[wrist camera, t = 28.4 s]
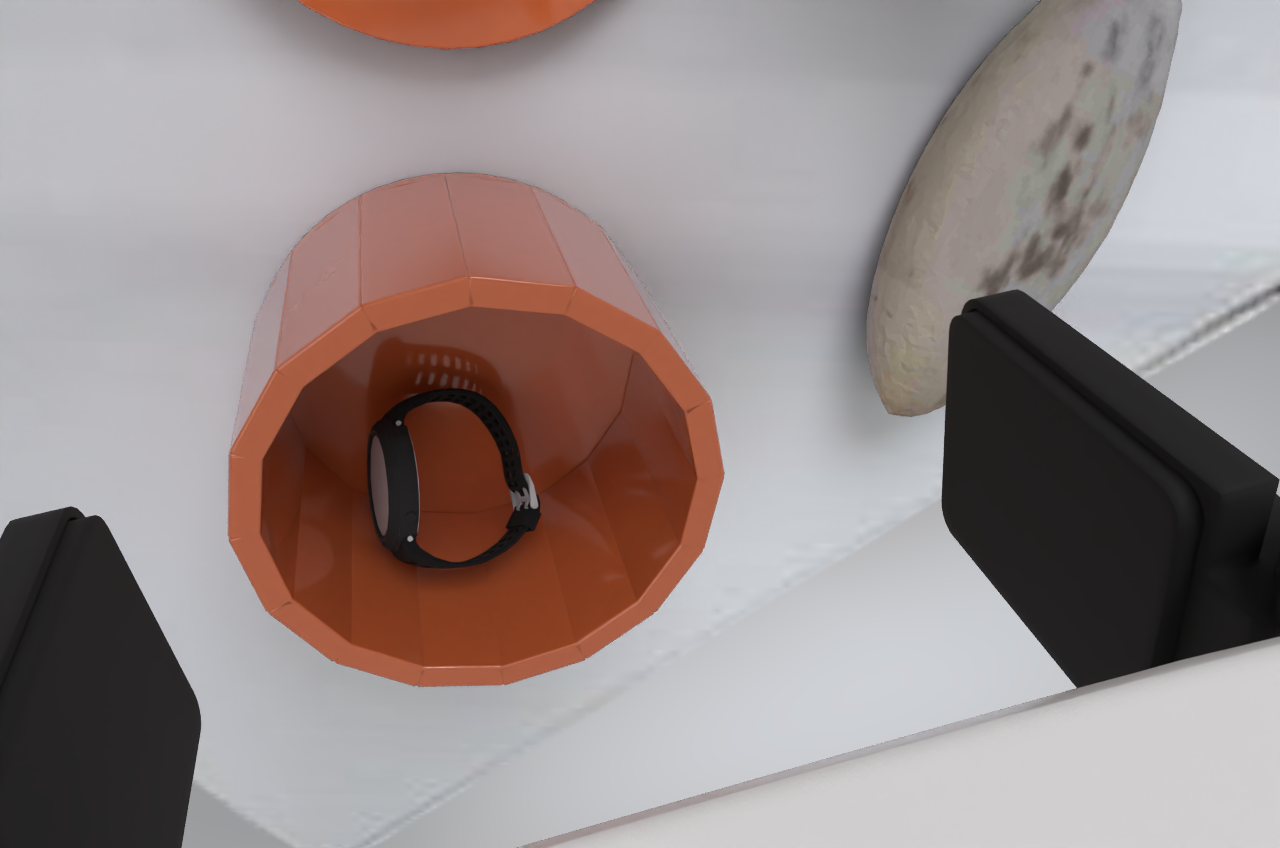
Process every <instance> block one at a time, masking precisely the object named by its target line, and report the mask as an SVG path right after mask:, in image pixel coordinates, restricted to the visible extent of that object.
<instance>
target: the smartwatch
mask: <svg viewBox="0 0 1280 848" xmlns="http://www.w3.org/2000/svg"><path fill="white" fill-rule="evenodd" d="M431 402H452V403H456V404H460V405H462V406H464V407H465V408H467V409H469V410H471V411H472V412H473V413H474V414H475V415H476V416H477V417H478V418H479V419H480V420H481V421H482V422H483V424H484V425H485V426H486V428H487V429H488V430H489V432H490V434H491V435H492V437H493V439H494V440H495V442H496V445H497V447H498V449H499V452H500V454H501V460H502V466H503V472H504V478H505V481H506V484H507V486H508V487H509V489H510V497H511V501H512V505H513V512H512V514H511V517H510V519H509V521H508V523H507V525H506V528H507V529H508V531H507V532H506V533H505V534H504V536H503V537H502V538H501V539H500V540H499V541H498V542H497V543H496V544H494V545H493V546H492V547H490V548H489V549H488V550H486V551H485V552H483V553H481V554H479V555H478V556H476V557H473V558H471V559H468V560H466V561H462V562H450V561H446V560H443V559H440V558H437V557H434V556H433V555H431V554H429V553H428V552H426V551H425V550H423V549H421V548H420V547H419V545H418V544H417V542H416V536H418V533H417V532H418V527H419V513H420V499H419V480H418V472H417V464H416V457H415V453H414V448H413V443H412V440H411V437H410V434H409V431H408V428H407V425H406V426H405V425H404V419H405V417H406V415H407V413H408V412H409V411H411V410H413V409H414V408H416V407H419V406H421V405H423V404H426V403H431ZM503 429H504V430H503ZM509 441H510V442H509ZM503 444H504V445H503ZM512 449H513V451H512ZM506 453H507V455H506ZM514 460H515V462H514ZM508 464H509V465H508ZM516 474H517V475H516ZM510 475H511V477H510ZM367 484H368V495H369V503H370V509H371V515H372V520H373V524H374V528H375V531H376V535H377V537H378V538H379V540H380V542H382V545H383V546H384V547H385V548H386V549H388V550H390V551H391V552H392V554H393V556H394V557H395V558H396V559H398V560H399V561H401V562H404V563H406V564H410V565H414V566H418V567H423V568H434V569H450V568H464V567H469V566H475V565H479V564H482V563H485V562H487V561H489V560H491V559H493V558H495V557H497V556H499V555H501V554H502V553H504V552H506V551H507V550H508V549H509V548H511V547H512V546H513V545H514V544H515V543H517V542H518V540H519V539H520V538H521V537H522V536H523V535H524V533H525V532H530V531H535V528H536V526H537V523H538V521H539V519H540V517H541V513H540V503H541V502H540V499H539V496H538V494H537V493H536V491H535V488H534V484H533V482H532V480H531V477H530V476H529V475H528V474H527V473H523V470H522V464H521V457H520V452H519V448H518V445H517V441H516V439H515V437H514V435H513V432H512V430H511V428H510V426H509V424H508V423H507V421H506V419H505V418H504V416H503V415H502V414H501V412H500V411H499V410H498V408H497V407H496V406H495V405H494V404H493V403H492V402H491V401H490V400H488V399H487V398H486V397H485V396H483V395H481V394H479V393H477V392H475V391H471V390H467V389H458V388H448V389H438V390H433V391H429V392H425V393H421V394H417V395H414V396H412V397H409V398H407V399H405V400H403V401H401V402H399V403H397V404H396V405H395V406H393V407H392V408H391V409H390V410H389V411H388V412H387V413H385V414H384V416H383V417H382V419H381V420H380V421H377V422H376V423H375V424H374V425H373V427H372V428H371V432H370V434H369V438H368V445H367ZM522 488H523V490H522Z"/></svg>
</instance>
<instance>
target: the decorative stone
mask: <svg viewBox="0 0 1280 848" xmlns="http://www.w3.org/2000/svg"><path fill="white" fill-rule="evenodd" d="M1181 11H1182V2H1181V0H1042V1H1041V2H1040V3H1038V4H1037V5H1036V6H1035V7H1034V8H1033V9H1032V10H1031V12H1030V13H1029V14H1028V15H1027V16H1026V17H1025V18H1024V19H1023V20H1022V21H1021V22H1020V23H1019V24H1017V25H1016V26H1015V27H1014V28H1013V29H1012V30H1011V31H1010V32H1009V33H1008V34H1007V35H1006V36H1005V37H1004V38H1003V40H1002V41H1001V42H1000V43H999V44H998V45H997V46H996V48H995V49H994V50H993V51H992V52H991V53H990V54H989V55H988V56H987V58H986V59H985V60H984V62H983V63H982V64H981V65H980V67H979V68H978V69H977V70H976V71H975V72H974V74H973V75H972V76H971V77H970V79H969V80H968V82H967V83H966V85H965V86H964V87H963V89H962V90H961V92H960V93H959V94H958V96H957V97H956V99H955V100H954V102H953V103H952V104H951V106H950V107H949V109H948V110H947V112H946V113H945V115H944V116H943V118H942V120H941V122H940V123H939V125H938V127H937V129H936V130H935V132H934V134H933V135H932V137H931V139H930V141H929V142H928V144H927V146H926V148H925V150H924V151H923V153H922V155H921V157H920V159H919V161H918V163H917V165H916V167H915V169H914V171H913V172H912V174H911V176H910V179H909V181H908V183H907V185H906V187H905V189H904V191H903V194H902V196H901V199H900V201H899V204H898V207H897V209H896V212H895V215H894V217H893V220H892V222H891V225H890V227H889V230H888V233H887V235H886V239H885V242H884V245H883V248H882V250H881V254H880V257H879V261H878V265H877V268H876V272H875V275H874V279H873V283H872V289H871V295H870V303H869V308H868V313H867V323H866V345H867V354H868V360H869V364H870V369H871V374H872V376H873V380H874V384H875V388H876V390H877V392H878V394H879V396H880V397H881V400H882V402H883V405H884V406H885V408H886V410H887V412H888V413H889V414H892V415H899V416H909V417H912V416H917V415H922V414H927V413H929V412H931V411H933V410H936V409H938V408H941V407H943V406H944V405H946V388H947V364H948V341H949V327H950V323H951V320H952V318H954V317H955V316H957V315H961V312H962V309H963V307H964V304H965V303H966V302H967V301H968V300H971V299H975V298H979V297H984V296H988V295H992V294H997V293H1001V292H1005V291H1010V290H1016V289H1018V290H1021V291H1023V292H1025V293H1026V294H1027V295H1029V296H1030V297H1032V298H1033V299H1034V300H1036V301H1037V302H1038V303H1040V304H1041V305H1042V306H1044V307H1045V308H1047V309H1048V310H1049V311H1052V310H1053V309H1054V307H1055V306H1056V305H1057V304H1058V303H1059V301H1060V300H1061V299H1062V298H1063V297H1064V296H1065V294H1066V293H1067V292H1068V291H1069V289H1070V288H1071V287H1072V285H1073V284H1074V283H1075V282H1076V280H1077V279H1078V278H1079V276H1080V275H1081V274H1082V272H1083V271H1084V269H1085V268H1086V267H1087V265H1088V264H1089V262H1090V261H1091V259H1092V257H1093V256H1094V254H1095V253H1096V251H1097V250H1098V248H1099V247H1100V245H1101V244H1102V242H1103V241H1104V239H1105V238H1106V236H1107V235H1108V233H1109V231H1110V229H1111V227H1112V225H1113V223H1114V221H1115V219H1116V216H1117V214H1118V213H1119V211H1120V209H1121V208H1122V206H1123V203H1124V201H1125V199H1126V197H1127V195H1128V193H1129V190H1130V188H1131V186H1132V183H1133V181H1134V178H1135V176H1136V174H1137V172H1138V170H1139V167H1140V165H1141V163H1142V160H1143V158H1144V155H1145V152H1146V150H1147V147H1148V145H1149V142H1150V139H1151V136H1152V133H1153V129H1154V126H1155V123H1156V119H1157V116H1158V114H1159V111H1160V109H1161V105H1162V101H1163V97H1164V92H1165V88H1166V83H1167V79H1168V75H1169V70H1170V65H1171V61H1172V57H1173V52H1174V48H1175V44H1176V39H1177V35H1178V26H1179V20H1180V16H1181Z"/></svg>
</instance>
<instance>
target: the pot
mask: <svg viewBox="0 0 1280 848" xmlns="http://www.w3.org/2000/svg"><path fill="white" fill-rule="evenodd" d="M448 388H458V389H467V390H471V391H475V392H477V393H479V394H481V395H483V396H485V397H486V398H487V399H488V400H490V401H491V402H492V403H493V404H494V405H495V406H496V407H497V408H498V410H499V411H500V412H501V414H502V415H503V416H504V418H505V419H506V421H507V423H508V424H509V426H510V428H511V430H512V432H513V435H514V437H515V439H516V441H517V445H518V448H519V452H520V457H521V464H522V470H523V473H527V474H528V475H529V476H530V477H531V480H532V482H533V484H534V488H535V491H536V493H537V494H538V496H539V499H540V502H541V503H540V513H541V517H540V519H539V521H538V523H537V526H536V528H535V531H530V532H525V533H524V535H523V536H522V537H521V538H520V539H519V540H518V542H517V543H515V544H514V545H513V546H512V547H511V548H509V549H508V550H507V551H506V552H504V553H502V554H501V555H499V556H497V557H495V558H493V559H491V560H489V561H487V562H485V563H482V564H479V565H475V566H469V567H464V568H450V569H434V568H423V567H418V566H414V565H410V564H406V563H404V562H401V561H399V560H398V559H396V558H395V557H394V556H393V554H392V552H391V551H390V550H388V549H386V548H385V547H384V546H383V545H382V542H380V540H379V538H378V537H377V535H376V531H375V528H374V524H373V520H372V515H371V509H370V503H369V495H368V484H367V445H368V438H369V434H370V432H371V428H372V427H373V425H374V424H375V423H376V422H377V421H380V420H381V419H382V417H383V416H384V414H385V413H387V412H388V411H389V410H390V409H391V408H392V407H393V406H395V405H396V404H397V403H399V402H401V401H403V400H405V399H407V398H409V397H412V396H414V395H417V394H421V393H425V392H429V391H433V390H438V389H448ZM404 425H405V426H406V425H407V428H408V431H409V434H410V437H411V440H412V443H413V448H414V453H415V457H416V464H417V472H418V480H419V499H420V513H419V527H418V532H417V533H418V536H416V542H417V544H418V545H419V547H420V548H421V549H423V550H425V551H426V552H428V553H429V554H431V555H433V556H434V557H437V558H440V559H443V560H446V561H450V562H462V561H466V560H468V559H471V558H473V557H476V556H478V555H479V554H481V553H483V552H485V551H486V550H488V549H489V548H490V547H492V546H493V545H494V544H496V543H497V542H498V541H499V540H500V539H501V538H502V537H503V536H504V534H505V533H506V532H507V531H508V529H507V528H506V525H507V523H508V521H509V519H510V517H511V514H512V512H513V505H512V501H511V497H510V489H509V487H508V486H507V484H506V481H505V478H504V472H503V466H502V460H501V454H500V452H499V449H498V447H497V445H496V442H495V440H494V439H493V437H492V435H491V434H490V432H489V430H488V429H487V428H486V426H485V425H484V424H483V422H482V421H481V420H480V419H479V418H478V417H477V416H476V415H475V414H474V413H473V412H472V411H471V410H469V409H467V408H465V407H464V406H462V405H460V404H456V403H452V402H431V403H426V404H423V405H421V406H419V407H416V408H414V409H413V410H411V411H409V412H408V413H407V415H406V417H405V419H404ZM503 430H504V429H503ZM509 442H510V441H509ZM503 445H504V444H503ZM512 451H513V449H512ZM506 455H507V453H506ZM514 462H515V460H514ZM508 465H509V464H508ZM516 475H517V474H516ZM510 477H511V475H510ZM723 479H724V468H723V462H722V456H721V451H720V445H719V439H718V433H717V428H716V422H715V416H714V411H713V405H712V400H711V398H710V396H709V394H708V392H707V391H706V389H705V387H704V386H703V384H702V382H701V381H700V379H699V377H698V376H697V374H696V372H695V371H694V369H693V367H692V365H691V364H690V362H689V360H688V359H687V357H686V355H685V354H684V352H683V350H682V349H681V347H680V345H679V344H678V342H677V340H676V339H675V337H674V335H673V334H672V332H671V330H670V329H669V327H668V325H667V324H666V322H665V320H664V319H663V317H662V315H661V314H660V312H659V310H658V308H657V307H656V305H655V303H654V302H653V300H652V298H651V297H650V295H649V293H648V292H647V290H646V288H645V287H644V285H643V283H642V282H641V280H640V279H639V278H638V276H637V275H636V274H635V272H634V271H633V270H632V268H631V267H630V266H629V264H628V263H627V261H626V260H625V259H624V257H623V256H622V254H621V253H620V251H619V249H618V248H617V247H616V246H615V245H614V243H613V242H612V241H611V240H610V238H609V237H608V236H607V234H606V233H605V232H604V230H603V229H602V228H601V227H600V226H599V225H598V224H597V223H595V222H593V221H592V220H590V219H589V218H588V217H587V216H586V215H584V214H583V213H582V212H580V211H579V210H577V209H576V208H574V207H573V206H571V205H570V204H568V203H567V202H565V201H564V200H562V199H560V198H558V197H556V196H554V195H552V194H550V193H548V192H545V191H543V190H541V189H539V188H537V187H534V186H531V185H528V184H525V183H522V182H519V181H516V180H512V179H507V178H502V177H497V176H492V175H487V174H472V173H443V174H429V175H424V176H419V177H413V178H408V179H403V180H399V181H396V182H393V183H390V184H387V185H384V186H381V187H378V188H375V189H373V190H371V191H369V192H367V193H365V194H363V195H361V196H359V197H357V198H354V199H352V200H350V201H349V202H347V203H346V204H344V205H343V206H341V207H339V208H338V209H336V210H335V211H333V212H332V213H330V214H329V215H327V216H326V217H325V218H324V219H323V220H321V221H320V222H319V223H318V224H317V225H316V226H315V227H313V228H312V229H311V230H310V231H309V232H308V233H307V234H306V235H305V236H304V237H303V238H302V239H301V240H300V242H299V243H298V244H297V245H296V246H295V247H294V249H293V250H291V252H290V253H289V255H288V256H287V258H286V259H285V261H284V263H283V264H282V266H281V267H280V269H279V270H278V272H277V274H276V275H275V277H274V279H273V282H272V284H271V286H270V288H269V291H268V293H267V295H266V298H265V300H264V303H263V305H262V306H261V308H260V310H259V312H258V314H257V316H256V320H255V324H254V329H253V335H252V340H251V345H250V350H249V355H248V360H247V365H246V370H245V375H244V380H243V385H242V390H241V395H240V400H239V405H238V411H237V416H236V421H235V426H234V431H233V436H232V441H231V446H230V451H229V469H228V536H229V542H230V544H231V546H232V548H233V550H234V552H235V554H236V555H237V557H238V559H239V561H240V563H241V565H242V567H243V569H244V571H245V572H246V574H247V576H248V578H249V580H250V582H251V584H252V586H253V588H254V589H255V591H256V593H257V595H258V597H259V599H260V601H261V603H262V605H263V606H264V608H265V610H266V611H267V612H269V614H270V615H271V616H273V617H274V618H275V619H277V620H278V621H279V622H281V623H282V624H283V625H285V626H286V627H287V628H289V629H290V630H291V631H293V632H294V633H295V634H297V635H298V636H299V637H301V638H302V639H303V640H305V641H306V642H307V643H309V644H310V645H311V646H313V647H314V648H315V649H317V650H318V651H319V652H320V653H322V654H323V655H324V656H326V657H327V658H328V659H330V660H331V661H335V662H336V663H337V664H341V665H344V666H347V667H351V668H354V669H358V670H361V671H364V672H368V673H371V674H374V675H378V676H381V677H385V678H388V679H391V680H395V681H398V682H402V683H405V684H408V685H412V686H416V685H417V686H419V687H436V686H489V685H502V684H504V685H507V684H511V683H514V682H517V681H520V680H523V679H527V678H530V677H533V676H536V675H539V674H543V673H546V672H549V671H552V670H555V669H559V668H562V667H565V666H568V665H571V664H575V663H578V662H581V661H584V660H585V658H589V657H590V656H592V655H593V654H595V653H596V652H598V651H599V650H601V649H602V648H604V647H605V646H607V645H608V644H610V643H611V642H613V641H614V640H616V639H617V638H619V637H620V636H622V635H623V634H625V633H626V632H628V631H629V630H631V629H632V628H633V627H635V626H636V625H638V624H639V623H641V622H642V621H644V620H645V619H647V618H648V617H650V616H651V615H653V613H654V612H656V611H657V610H658V609H659V608H660V606H661V605H662V604H663V602H664V601H665V600H666V598H667V597H668V596H669V594H670V593H671V592H672V591H673V589H674V588H675V587H676V585H677V584H678V583H679V581H680V580H681V579H682V578H683V576H684V575H685V574H686V572H687V571H688V570H689V568H690V567H691V566H692V565H693V563H694V562H695V561H696V559H697V558H698V557H699V555H700V554H701V553H702V551H703V549H704V547H705V544H706V540H707V536H708V533H709V529H710V526H711V522H712V518H713V515H714V511H715V508H716V504H717V501H718V497H719V493H720V490H721V486H722V483H723ZM522 490H523V488H522Z"/></svg>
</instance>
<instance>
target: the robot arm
mask: <svg viewBox="0 0 1280 848" xmlns="http://www.w3.org/2000/svg"><path fill="white" fill-rule="evenodd" d="M1278 484H1279V479H1278V478H1277V477H1275V476H1274V475H1273V474H1271V473H1270V472H1268V471H1267V470H1266V469H1264V468H1263V467H1262V466H1260V465H1259V464H1258V463H1256V462H1255V461H1254V460H1252V459H1251V458H1250V457H1248V456H1247V455H1245V454H1244V453H1242V452H1241V451H1240V450H1239V449H1237V448H1236V447H1235V446H1233V445H1231V444H1230V443H1229V442H1228V441H1226V440H1225V439H1224V438H1222V437H1221V436H1219V435H1218V434H1217V433H1215V432H1214V431H1213V430H1211V429H1210V428H1209V427H1207V426H1206V425H1205V424H1203V423H1202V422H1200V421H1199V420H1198V419H1196V418H1195V417H1193V416H1192V415H1191V414H1190V413H1188V412H1187V411H1185V410H1184V409H1183V408H1181V407H1180V406H1179V405H1177V404H1176V403H1174V402H1173V401H1172V400H1171V399H1169V398H1168V397H1166V396H1165V395H1164V394H1162V393H1161V392H1160V391H1158V390H1157V389H1156V388H1154V387H1153V386H1151V385H1150V384H1149V383H1147V382H1146V381H1145V380H1143V379H1142V378H1141V377H1139V376H1138V375H1136V374H1135V373H1134V372H1132V371H1131V370H1130V369H1128V368H1127V367H1126V366H1124V365H1123V364H1121V363H1120V362H1119V361H1117V360H1116V359H1115V358H1113V357H1112V356H1111V355H1109V354H1108V353H1106V352H1105V351H1104V350H1102V349H1101V348H1100V347H1098V346H1097V345H1096V344H1094V343H1093V342H1091V341H1090V340H1089V339H1087V338H1086V337H1085V336H1083V335H1082V334H1081V333H1079V332H1078V331H1076V330H1075V329H1074V328H1072V327H1071V326H1070V325H1068V324H1067V323H1066V322H1064V321H1063V320H1062V319H1060V318H1059V317H1057V316H1056V315H1055V314H1053V313H1052V312H1051V311H1049V310H1048V309H1047V308H1045V307H1044V306H1042V305H1041V304H1040V303H1038V302H1037V301H1036V300H1034V299H1033V298H1032V297H1030V296H1029V295H1027V294H1026V293H1025V292H1023V291H1021V290H1018V289H1016V290H1010V291H1005V292H1001V293H997V294H992V295H988V296H984V297H979V298H975V299H971V300H968V301H967V302H966V303H965V304H964V307H963V309H962V312H961V315H957V316H955V317H954V318H952V320H951V323H950V327H949V341H948V364H947V388H946V411H945V435H944V458H943V482H942V511H943V515H944V519H945V522H946V524H947V526H948V528H949V531H950V532H951V534H952V535H953V536H954V538H955V539H956V540H957V541H958V542H959V544H960V545H961V546H962V547H963V549H964V550H965V551H966V552H967V554H968V555H969V556H970V557H971V558H972V560H973V561H974V562H975V563H976V565H977V566H978V567H979V568H980V569H981V571H982V572H983V573H984V574H985V576H986V577H987V578H988V579H989V580H990V581H991V583H992V584H993V585H994V587H995V588H996V589H997V590H998V592H999V593H1000V594H1001V595H1002V597H1003V598H1004V599H1005V600H1006V601H1007V602H1008V604H1009V605H1010V606H1011V608H1012V609H1013V610H1014V611H1015V612H1016V614H1017V615H1018V616H1019V617H1020V619H1021V620H1022V621H1023V622H1024V624H1025V625H1026V626H1027V627H1028V628H1029V630H1030V631H1031V632H1032V633H1033V635H1034V636H1035V637H1036V638H1037V640H1038V641H1039V642H1040V643H1041V644H1042V646H1043V647H1044V648H1045V649H1046V651H1047V652H1048V653H1049V654H1050V655H1051V657H1052V658H1053V659H1054V660H1055V661H1056V663H1057V664H1058V665H1059V666H1060V668H1061V669H1062V670H1063V671H1064V673H1065V674H1066V675H1067V676H1068V677H1069V679H1070V680H1071V681H1072V683H1073V684H1074V685H1075V686H1076V687H1077V688H1076V689H1072V690H1069V691H1065V692H1062V693H1059V694H1055V695H1051V696H1047V697H1044V698H1040V699H1037V700H1033V701H1030V702H1026V703H1022V704H1019V705H1015V706H1012V707H1008V708H1005V709H1001V710H998V711H994V712H990V713H987V714H984V715H980V716H976V717H973V718H969V719H965V720H962V721H958V722H955V723H951V724H948V725H944V726H941V727H937V728H933V729H930V730H927V731H923V732H919V733H916V734H912V735H909V736H905V737H901V738H898V739H895V740H891V741H887V742H884V743H880V744H877V745H873V746H869V747H866V748H862V749H859V750H855V751H852V752H848V753H844V754H841V755H838V756H834V757H830V758H827V759H824V760H820V761H817V762H813V763H809V764H806V765H803V766H799V767H795V768H792V769H788V770H785V771H782V772H778V773H774V774H771V775H768V776H764V777H761V778H757V779H753V780H750V781H747V782H743V783H740V784H736V785H733V786H729V787H726V788H722V789H719V790H715V791H712V792H708V793H705V794H701V795H698V796H694V797H691V798H687V799H684V800H680V801H677V802H673V803H670V804H666V805H663V806H659V807H656V808H653V809H649V810H645V811H642V812H639V813H635V814H632V815H628V816H625V817H621V818H618V819H614V820H611V821H607V822H604V823H600V824H597V825H594V826H590V827H586V828H583V829H579V830H576V831H573V832H569V833H566V834H562V835H559V836H555V837H552V838H548V839H545V840H541V841H538V842H535V843H531V844H528V845H524V846H521V847H517V848H1280V497H1279V496H1278V495H1277V494H1276V491H1277V488H1278ZM200 732H201V716H200V709H199V705H198V702H197V699H196V696H195V694H194V692H193V690H192V688H191V686H190V684H189V682H188V680H187V678H186V676H185V674H184V673H183V671H182V669H181V667H180V665H179V663H178V661H177V659H176V657H175V655H174V653H173V651H172V649H171V647H170V646H169V644H168V642H167V640H166V638H165V636H164V634H163V632H162V630H161V628H160V626H159V624H158V622H157V620H156V619H155V617H154V615H153V613H152V611H151V609H150V607H149V605H148V603H147V601H146V599H145V597H144V595H143V593H142V592H141V590H140V588H139V586H138V584H137V582H136V580H135V578H134V576H133V574H132V572H131V570H130V568H129V566H128V565H127V563H126V561H125V559H124V557H123V555H122V553H121V551H120V549H119V547H118V545H117V543H116V541H115V539H114V538H113V536H112V534H111V532H110V530H109V528H108V526H107V525H106V523H105V521H104V520H103V519H102V518H101V517H99V516H96V515H94V516H90V517H86V518H85V516H84V515H83V514H82V513H81V512H80V511H79V510H78V509H77V508H74V507H67V508H62V509H58V510H54V511H49V512H45V513H41V514H36V515H32V516H27V517H23V518H19V519H15V520H12V521H10V522H9V524H8V525H7V526H6V528H5V530H4V532H3V534H2V536H1V538H0V848H181V847H182V841H183V835H184V827H185V822H186V816H187V810H188V804H189V798H190V792H191V786H192V780H193V774H194V768H195V762H196V756H197V750H198V744H199V738H200Z"/></svg>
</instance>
